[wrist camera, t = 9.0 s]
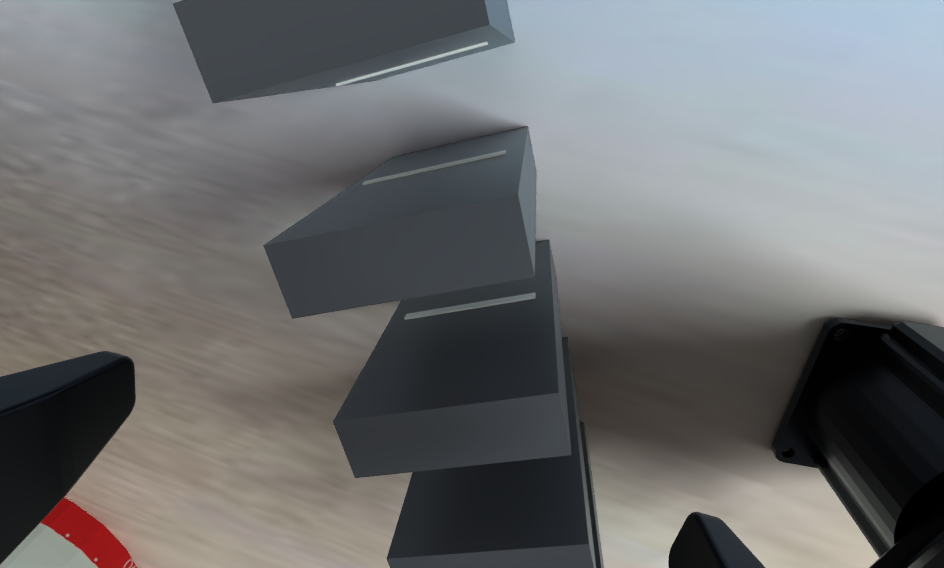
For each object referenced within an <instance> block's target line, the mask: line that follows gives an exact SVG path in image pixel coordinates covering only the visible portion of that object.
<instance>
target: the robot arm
mask: <svg viewBox="0 0 944 568" xmlns="http://www.w3.org/2000/svg"><path fill="white" fill-rule="evenodd" d="M840 329H844V331H843V332H842V333H841V334H840V335H838V336H834V335H835V333H836V332H837V331H838V330H840ZM135 399H136V395H135V369H134V363H133V361H132V359H131V358H129V357H127V356H124V355H120V354H117V353H113V352H109V351H102V352H97V353H93V354H89V355H85V356H81V357H77V358H73V359H69V360H66V361H62V362H58V363H54V364H50V365H46V366H42V367H38V368H34V369H30V370H26V371H22V372H18V373H14V374H10V375H6V376H2V377H0V565H1V564H2V563H3V562H4V560H5V559H6V558H7V557H8V556H9V555H10V554H11V553H12V552H13V551H14V550H15V549H16V548H17V547H18V546H19V545H20V544H21V543H22V542H23V540H24V539H25V538H26V537H27V536H28V535H29V534H30V533H31V532H32V531H33V530H34V529H35V528H36V527H37V526H38V525H39V524H40V523H41V522H42V520H43V519H44V518H45V517H46V516H47V515H48V514H49V513H50V512H51V511H52V510H53V509H54V508H55V507H56V505H57V504H58V503H59V502H60V501H61V500H62V499H63V498H64V497H65V495H66V494H67V493H68V492H69V491H70V489H71V488H72V487H73V486H74V485H75V483H76V482H77V481H78V480H79V478H80V477H81V476H82V475H83V473H84V472H85V471H86V470H87V468H88V467H89V466H90V464H91V463H92V462H93V461H94V459H95V458H96V457H97V456H98V454H99V453H100V452H101V450H102V449H103V448H104V447H105V445H106V444H107V443H108V442H109V440H110V439H111V438H112V437H113V435H114V434H115V433H116V431H117V430H118V429H119V428H120V426H121V425H122V424H123V423H124V421H125V420H126V419H127V417H128V416H129V415H130V413H131V411H132V410H133V407H134V404H135ZM771 448H772V451H773V453H774V455H775V456H776V458H777V459H778V460H779V461H782V462H785V463H791V464H797V465H803V466H809V467H815V468H819V470H820V471H821V473H822V474H823V476H824V477H825V479H826V480H827V482H828V483H829V485H830V486H831V487H832V489H833V490H834V492H835V493H836V495H837V496H838V498H839V499H840V501H841V502H842V504H843V505H844V506H845V508H846V509H847V511H848V512H849V514H850V515H851V517H852V518H853V520H854V521H855V523H856V524H857V525H858V527H859V528H860V530H861V531H862V533H863V534H864V536H865V537H866V539H867V540H868V542H869V543H870V544H871V546H872V547H873V549H874V550H875V552H876V553H877V555H878V556H879V559H878V560H877V561H876V562H875V563H874V564H873V565H871V566H870V567H869V568H944V327H939V326H932V325H926V324H919V323H913V322H906V321H901V322H897V323H894V324H893V325H892V326H890V325H884V324H877V323H871V322H864V321H858V320H851V319H845V318H835V319H832V320H830V321H828V322H827V323H825V325H824V326H823V328H822V330H821V332H820V335H819V337H818V339H817V342H816V344H815V346H814V349H813V351H812V353H811V356H810V358H809V360H808V362H807V365H806V367H805V369H804V372H803V374H802V376H801V379H800V381H799V383H798V385H797V388H796V390H795V392H794V395H793V397H792V399H791V402H790V404H789V406H788V408H787V411H786V413H785V415H784V418H783V420H782V422H781V425H780V427H779V429H778V432H777V434H776V436H775V438H774V441H773V443H772V447H771ZM786 448H790V449H789V450H787V451H783V450H784V449H786ZM669 568H765V567H764V566H763V565H762V563H761V562H760V561H759V560H758V559H757V558H756V557H755V556H754V555H753V554H752V552H751V551H750V550H749V549H748V548H747V547H746V546H745V545H744V544H743V543H742V541H741V540H740V539H739V538H738V537H737V536H736V535H735V534H734V533H733V532H732V530H731V529H730V528H729V527H728V526H727V525H726V524H725V523H724V522H723V521H722V520H721V519H719V518H717V517H714V516H710V515H707V514H703V513H699V512H693V513H691V514H690V515H689V516H688V517H687V519H686V521H685V522H684V524H683V526H682V528H681V530H680V532H679V534H678V535H677V537H676V539H675V541H674V543H673V545H672V547H671V550H670V553H669Z"/></svg>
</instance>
